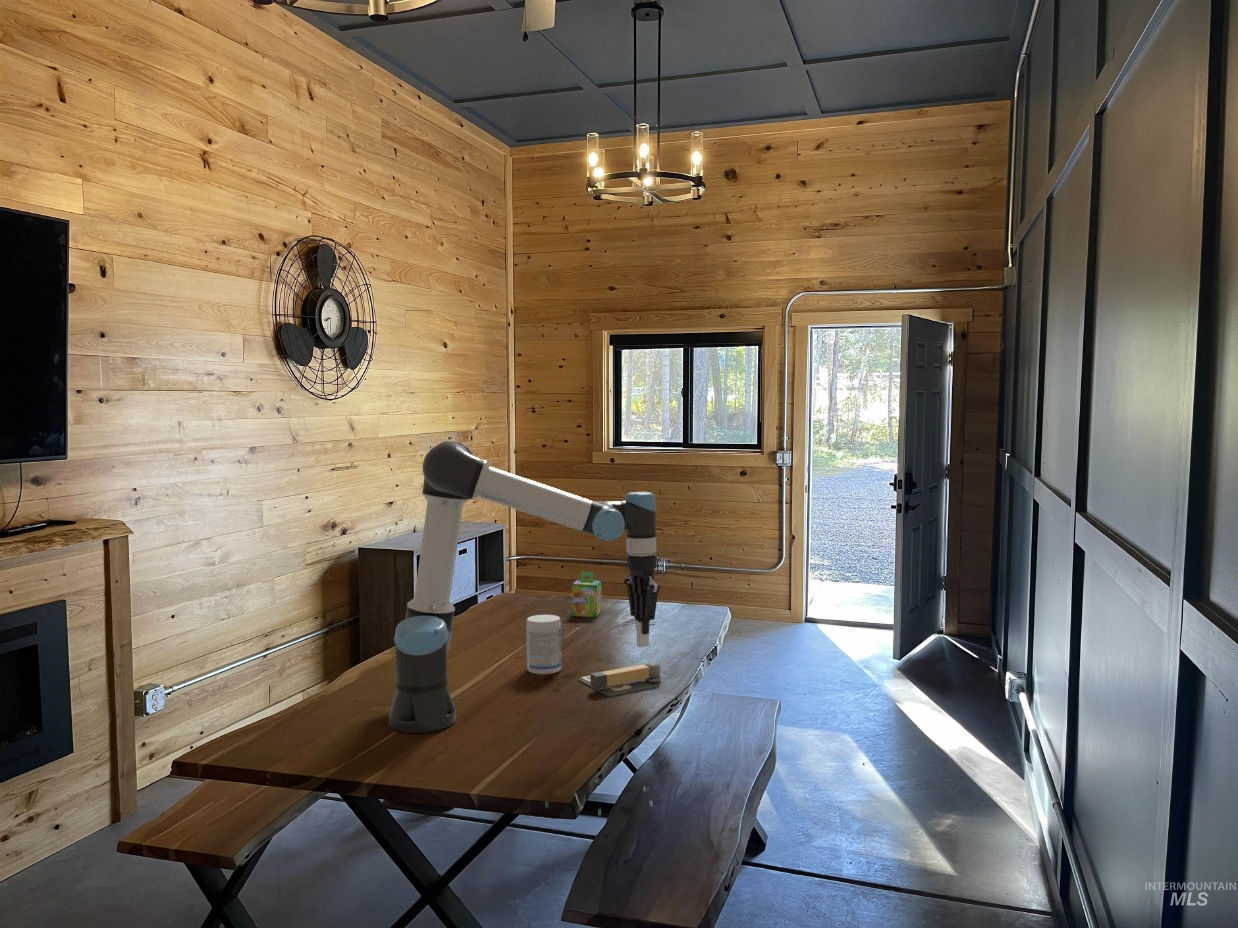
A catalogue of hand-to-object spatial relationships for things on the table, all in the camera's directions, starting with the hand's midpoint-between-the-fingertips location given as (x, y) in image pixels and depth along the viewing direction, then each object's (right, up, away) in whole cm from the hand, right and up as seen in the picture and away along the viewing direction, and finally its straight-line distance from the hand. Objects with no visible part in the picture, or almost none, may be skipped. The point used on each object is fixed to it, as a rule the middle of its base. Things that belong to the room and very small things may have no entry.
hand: (642, 645), depth 221 cm
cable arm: (-4, -11, +7) cm, 13 cm away
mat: (-7, -12, +8) cm, 16 cm away
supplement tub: (-27, -11, +21) cm, 36 cm away
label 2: (-6, -12, +4) cm, 14 cm away
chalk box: (-17, -7, +87) cm, 89 cm away
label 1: (-13, -12, +12) cm, 21 cm away
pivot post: (+3, -12, +11) cm, 16 cm away
